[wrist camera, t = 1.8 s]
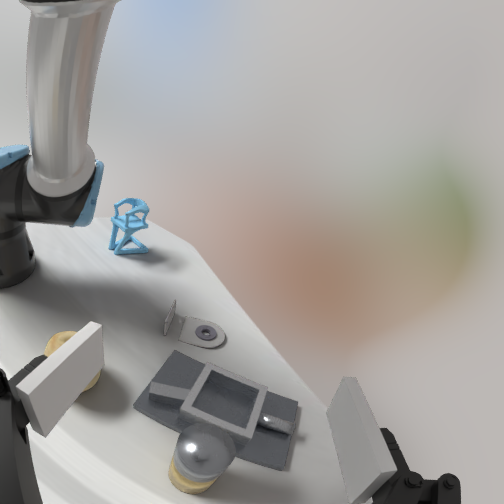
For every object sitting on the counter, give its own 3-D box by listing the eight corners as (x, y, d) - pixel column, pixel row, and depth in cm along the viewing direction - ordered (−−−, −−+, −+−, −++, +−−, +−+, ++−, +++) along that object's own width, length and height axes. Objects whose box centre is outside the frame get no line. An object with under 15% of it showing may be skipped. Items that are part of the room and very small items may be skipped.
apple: (50, 403, 23) (26, 347, 22) (66, 375, 31) (49, 326, 30) (103, 401, 25) (81, 342, 24) (112, 371, 33) (96, 320, 32)
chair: (103, 244, 60) (108, 196, 55) (131, 238, 66) (138, 193, 62) (119, 260, 56) (125, 209, 52) (148, 252, 63) (156, 205, 58)
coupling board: (133, 408, 29) (133, 394, 27) (173, 354, 40) (177, 338, 38) (280, 470, 26) (292, 461, 25) (295, 405, 37) (305, 392, 36)
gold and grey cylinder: (161, 482, 21) (167, 455, 17) (178, 451, 26) (191, 414, 22) (203, 500, 20) (225, 480, 16) (218, 467, 25) (242, 436, 21)
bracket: (221, 354, 43) (226, 340, 42) (162, 337, 42) (164, 321, 41) (225, 329, 49) (230, 315, 48) (172, 313, 48) (174, 298, 47)
